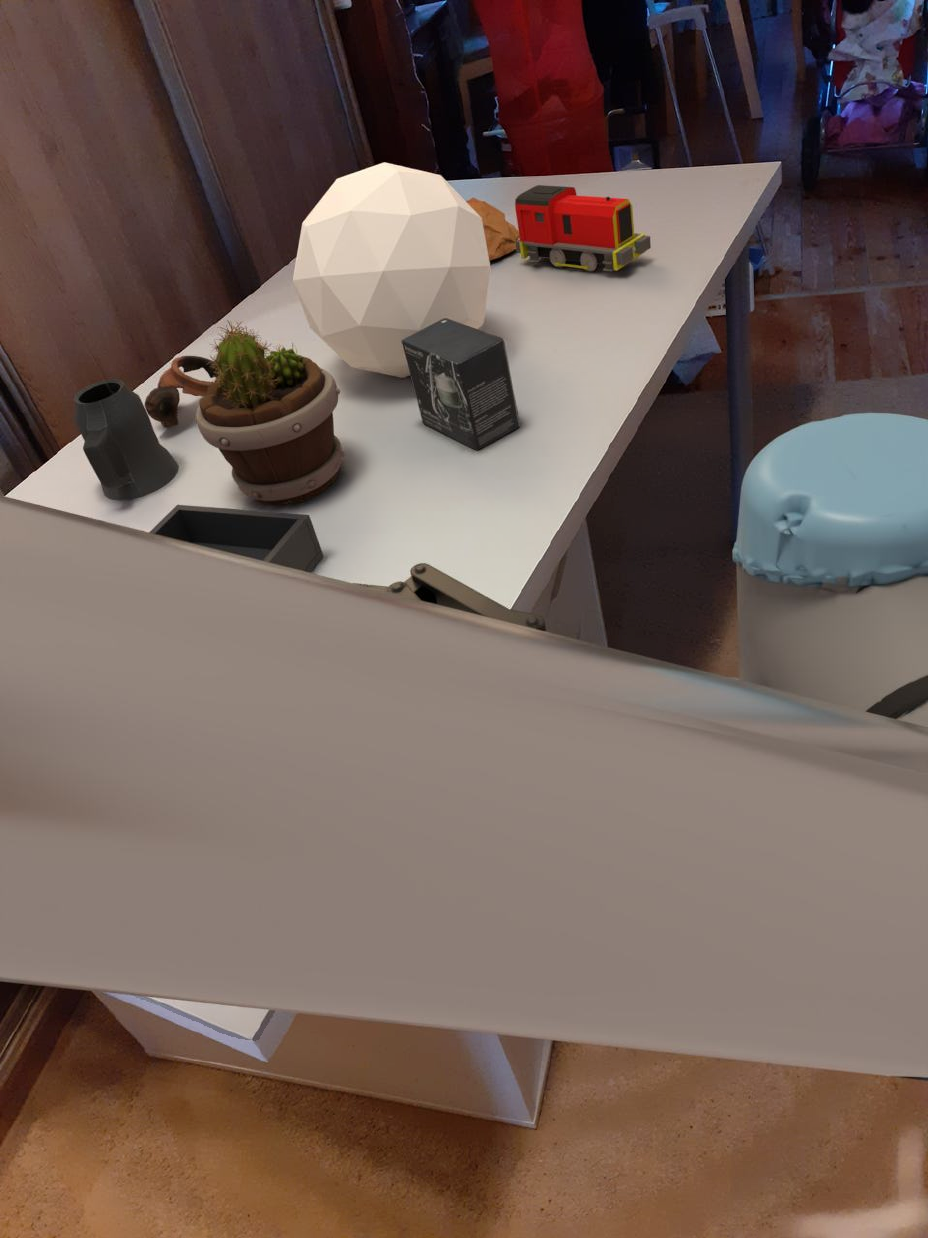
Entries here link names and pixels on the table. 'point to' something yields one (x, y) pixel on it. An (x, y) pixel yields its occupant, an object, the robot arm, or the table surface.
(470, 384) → the box
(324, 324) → the lamp
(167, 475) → the mug
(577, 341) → the table surface
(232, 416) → the flowerpot
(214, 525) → the tub
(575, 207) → the toy train
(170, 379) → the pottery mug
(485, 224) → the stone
